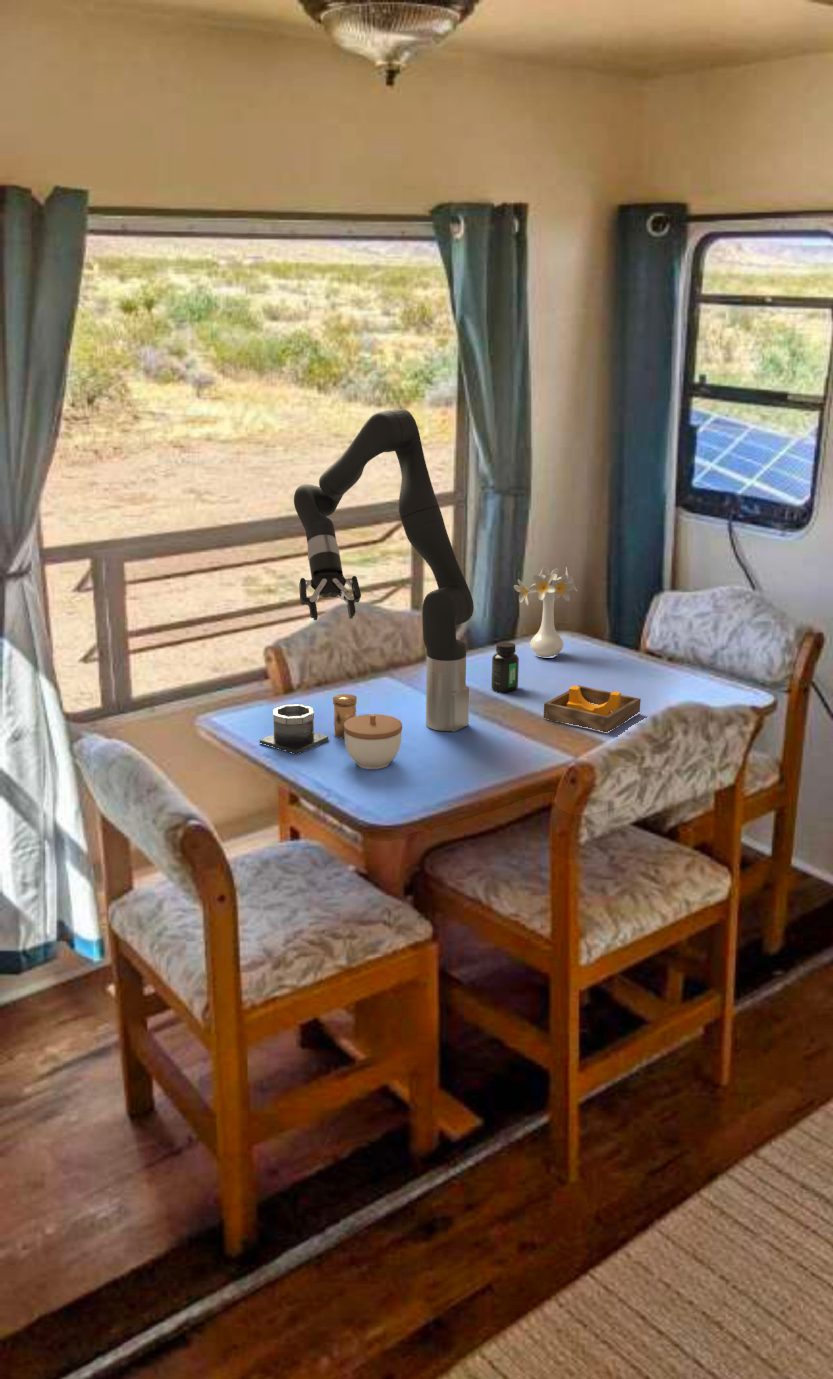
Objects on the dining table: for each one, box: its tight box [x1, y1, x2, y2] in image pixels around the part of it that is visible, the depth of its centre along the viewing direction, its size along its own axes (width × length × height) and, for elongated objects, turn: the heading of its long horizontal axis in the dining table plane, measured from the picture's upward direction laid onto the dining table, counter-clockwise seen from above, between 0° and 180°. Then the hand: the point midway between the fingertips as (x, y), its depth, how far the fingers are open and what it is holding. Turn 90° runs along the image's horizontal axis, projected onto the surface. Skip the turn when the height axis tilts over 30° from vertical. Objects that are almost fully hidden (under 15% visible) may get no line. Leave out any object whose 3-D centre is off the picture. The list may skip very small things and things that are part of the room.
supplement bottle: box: [491, 641, 520, 694], centre depth 309 cm, size 7×7×12 cm
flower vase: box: [513, 566, 579, 657], centre depth 334 cm, size 13×18×25 cm
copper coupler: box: [332, 693, 358, 739], centre depth 278 cm, size 5×5×9 cm
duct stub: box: [259, 703, 329, 755], centre depth 273 cm, size 11×11×8 cm
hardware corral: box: [543, 685, 642, 732], centre depth 291 cm, size 17×17×4 cm
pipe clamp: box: [567, 685, 622, 716], centre depth 291 cm, size 12×4×6 cm, turn 67°
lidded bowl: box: [344, 713, 403, 770], centre depth 261 cm, size 13×13×11 cm
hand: (333, 617), depth 283 cm, fingers open, 8 cm apart
